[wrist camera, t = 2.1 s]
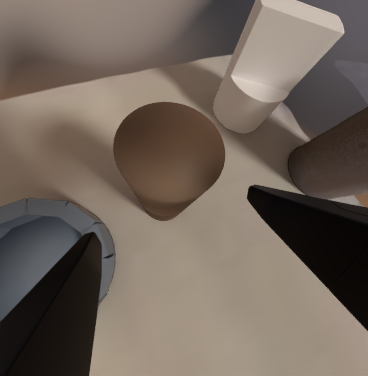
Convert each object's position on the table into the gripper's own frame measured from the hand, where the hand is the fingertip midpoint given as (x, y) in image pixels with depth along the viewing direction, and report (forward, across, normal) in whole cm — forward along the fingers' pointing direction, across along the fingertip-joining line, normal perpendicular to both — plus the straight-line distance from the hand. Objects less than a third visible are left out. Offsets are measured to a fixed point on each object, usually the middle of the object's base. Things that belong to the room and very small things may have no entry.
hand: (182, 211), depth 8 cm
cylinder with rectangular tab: (+18, -16, -3) cm, 24 cm away
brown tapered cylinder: (+9, 0, +5) cm, 10 cm away
